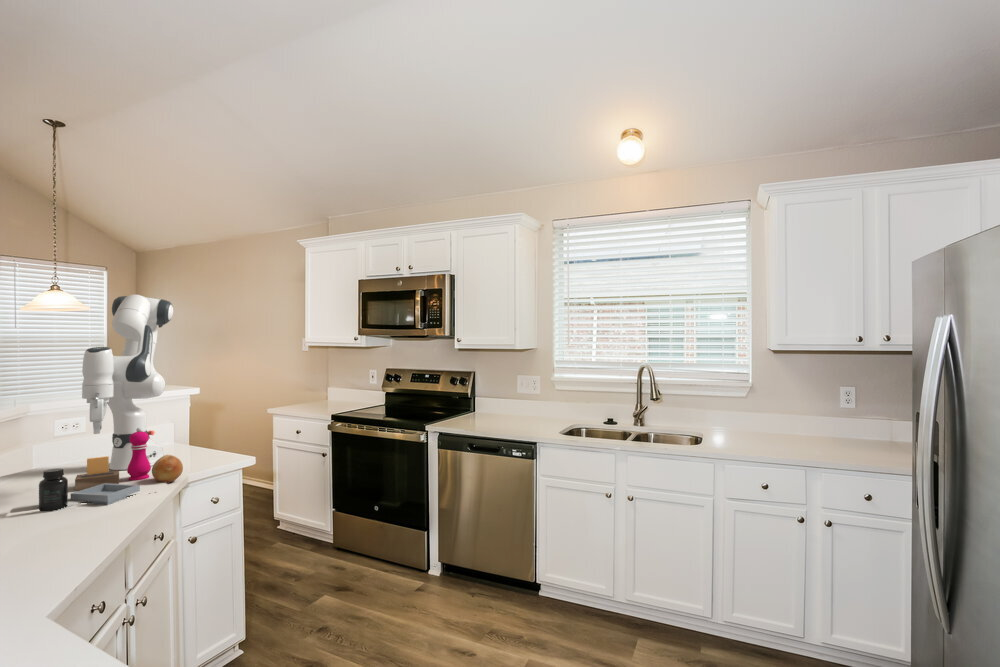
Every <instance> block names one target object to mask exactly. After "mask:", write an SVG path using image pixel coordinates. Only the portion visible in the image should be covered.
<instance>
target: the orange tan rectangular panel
mask: <svg viewBox="0 0 1000 667" xmlns="http://www.w3.org/2000/svg"><path fill="white" fill-rule="evenodd" d="M109 460H110V458H109V455H107V456H106V455H105V456H100V457H99V456H96V457H89V458H86V474H87V475H91V474H99V473H107V472H109V471H110V469H109V465H110V462H109Z"/></svg>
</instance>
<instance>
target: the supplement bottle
mask: <svg viewBox="0 0 1000 667" xmlns="http://www.w3.org/2000/svg"><path fill="white" fill-rule="evenodd" d="M64 472H65V470H64V468H62V467H61V468H51V469H45V470H43V473H42V478H43V479H42V480H40V481H39V483H38V510H39V512H42V511H49V512H54V511H53V510H56V511H59V510H58V509H60V510H62V509H61V508H63V509H65V508H67V507H68V505H69V504H68V502H69V501H68V500H69V499H68V497H69V496H68V495H69V493H68V491H69V490H68V489H69V487H68V486H69V485H68V484H69V483H68V482H69V481H68V478H67V477H65V476H64V475H65V473H64ZM64 507H65V508H64Z"/></svg>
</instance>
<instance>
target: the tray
mask: <svg viewBox="0 0 1000 667" xmlns="http://www.w3.org/2000/svg"><path fill="white" fill-rule="evenodd" d="M140 489H141V484H125V483H119V484H109V483H104V484H101V485H97V486H94V487H91V488H87V489H84V490H81V491H77V492H75V491H74V492H72V493H70V501H80V502H79V504H81V503H94V504H93V505H99V504H106V505H105V506H109V505H111V503H112V504H114V503H113V502H115V503H117V502H116V501H118V502H120V501H119V500H121V501H123V500H125V499H124V498H126V499H128V498H127V497H129V498H131V497H130V496H132V497H134V496H133V495H135V496H137V495H136V494H137V493H138V492H140V491H141V490H140ZM122 499H123V500H122ZM81 501H82V502H81ZM108 504H109V505H108Z"/></svg>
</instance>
